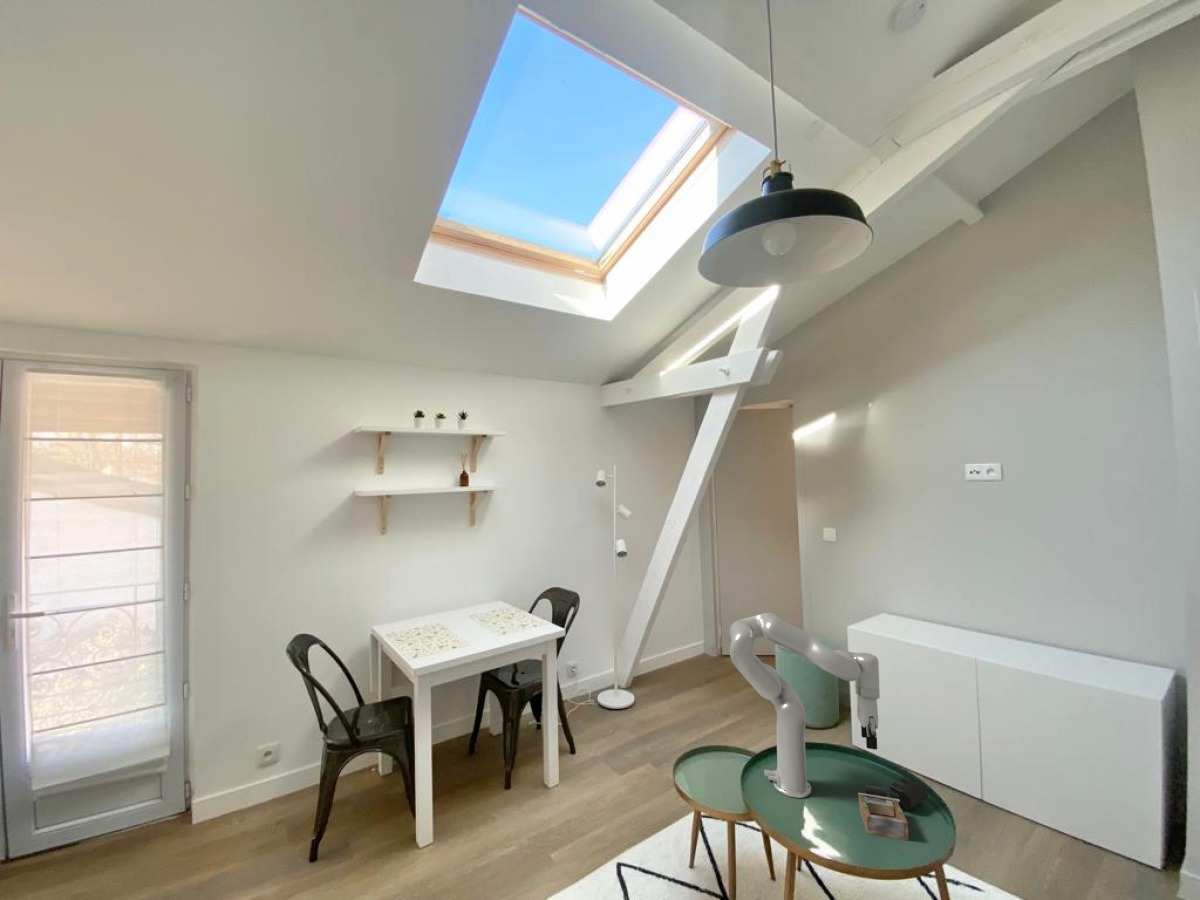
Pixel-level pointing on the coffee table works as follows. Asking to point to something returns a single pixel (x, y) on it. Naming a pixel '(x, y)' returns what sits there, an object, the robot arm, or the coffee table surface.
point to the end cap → (908, 793)
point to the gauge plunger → (878, 800)
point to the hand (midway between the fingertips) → (869, 742)
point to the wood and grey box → (884, 821)
